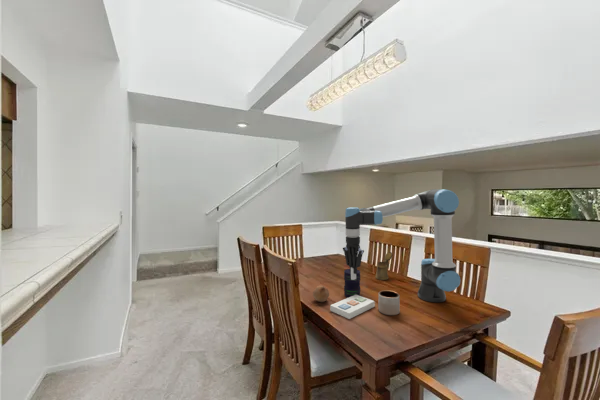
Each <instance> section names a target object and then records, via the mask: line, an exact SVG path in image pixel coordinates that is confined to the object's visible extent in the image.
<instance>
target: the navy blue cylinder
mask: <svg viewBox="0 0 600 400" xmlns="http://www.w3.org/2000/svg"><path fill="white" fill-rule="evenodd" d="M343 272H344V274H343V280H344V286H343V292H344V294H343V295H344V297H345V298H349V297H351V296H353V295H359V296H361V270H359V269H357V273H356V279H354V280H351V273H350V268H347V269H344V271H343Z"/></svg>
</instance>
